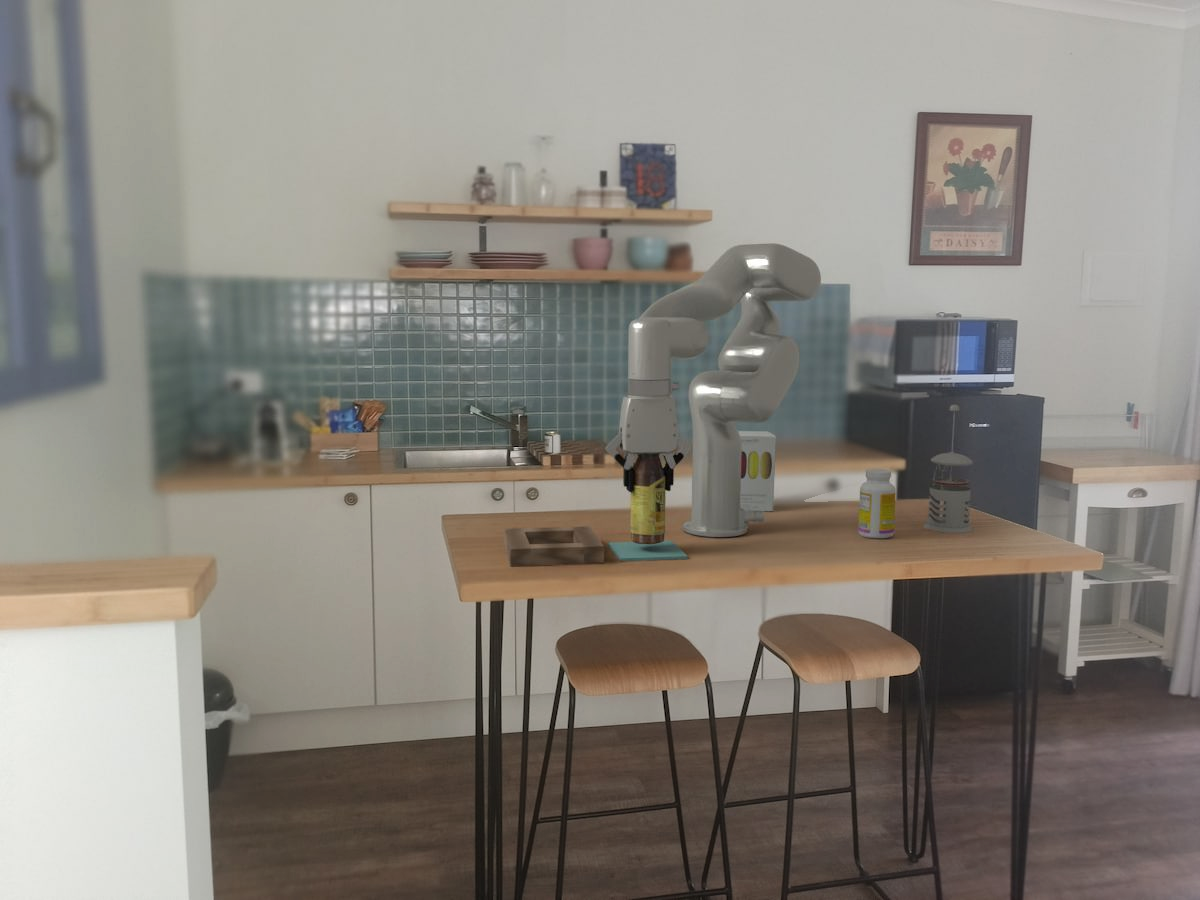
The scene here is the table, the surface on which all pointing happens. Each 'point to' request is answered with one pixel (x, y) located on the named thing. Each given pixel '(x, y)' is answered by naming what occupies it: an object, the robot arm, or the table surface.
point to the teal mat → (647, 551)
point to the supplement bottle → (877, 505)
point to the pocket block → (553, 546)
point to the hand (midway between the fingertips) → (648, 489)
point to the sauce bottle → (648, 500)
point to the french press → (949, 494)
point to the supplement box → (757, 470)
